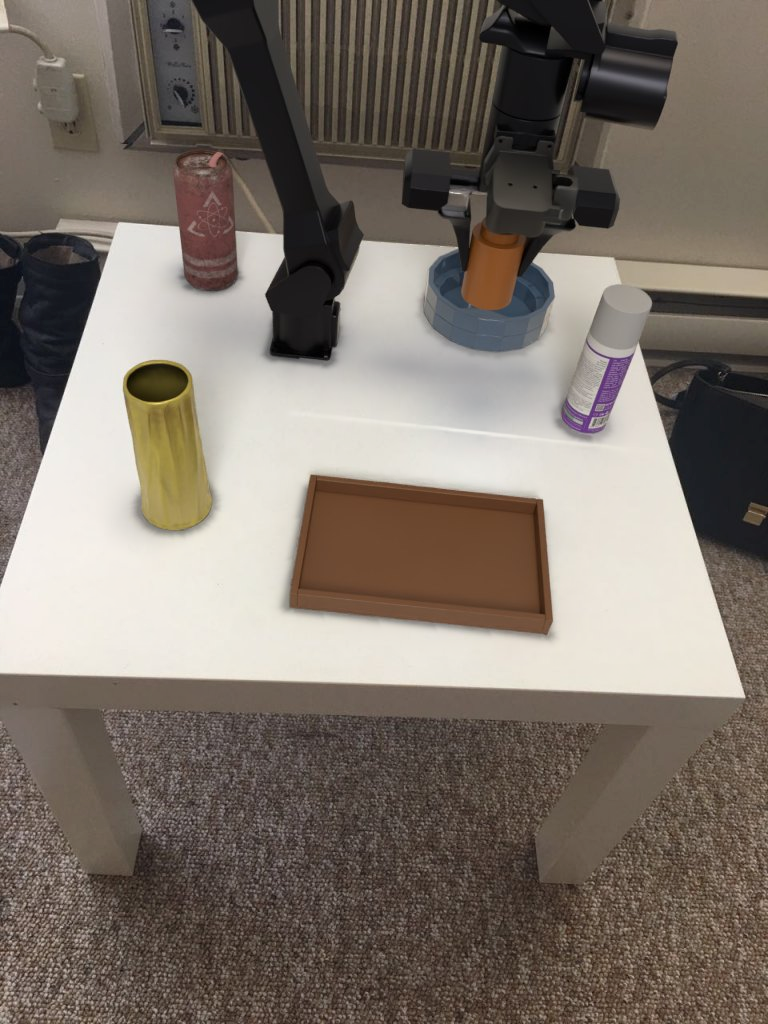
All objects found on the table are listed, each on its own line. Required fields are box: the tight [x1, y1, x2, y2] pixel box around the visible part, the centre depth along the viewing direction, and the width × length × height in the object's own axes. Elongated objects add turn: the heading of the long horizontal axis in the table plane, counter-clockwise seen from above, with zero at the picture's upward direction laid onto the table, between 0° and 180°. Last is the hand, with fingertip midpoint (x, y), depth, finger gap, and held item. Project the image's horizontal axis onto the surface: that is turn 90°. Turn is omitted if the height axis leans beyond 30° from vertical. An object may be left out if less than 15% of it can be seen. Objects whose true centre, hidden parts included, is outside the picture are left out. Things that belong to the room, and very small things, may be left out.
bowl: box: [423, 248, 556, 353], centre depth 94 cm, size 14×14×4 cm
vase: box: [122, 359, 213, 531], centre depth 68 cm, size 6×6×14 cm
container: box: [560, 283, 653, 436], centre depth 79 cm, size 5×5×15 cm
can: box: [172, 149, 239, 292], centre depth 91 cm, size 6×6×14 cm
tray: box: [289, 474, 554, 635], centre depth 71 cm, size 21×13×2 cm, turn 86°
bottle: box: [461, 216, 526, 310], centre depth 77 cm, size 5×5×10 cm
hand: (490, 272), depth 79 cm, fingers closed on bottle, 5 cm apart
